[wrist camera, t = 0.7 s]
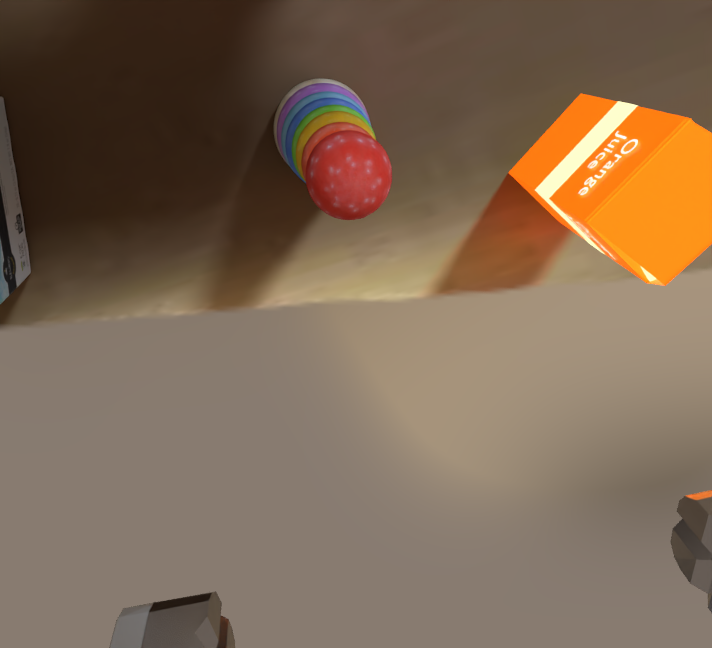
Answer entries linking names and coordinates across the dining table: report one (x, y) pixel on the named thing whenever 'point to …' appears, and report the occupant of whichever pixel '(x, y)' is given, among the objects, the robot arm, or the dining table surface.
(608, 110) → the orange juice
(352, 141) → the stacking toy
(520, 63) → the dining table surface
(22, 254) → the tea box
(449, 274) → the dining table surface
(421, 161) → the dining table surface
